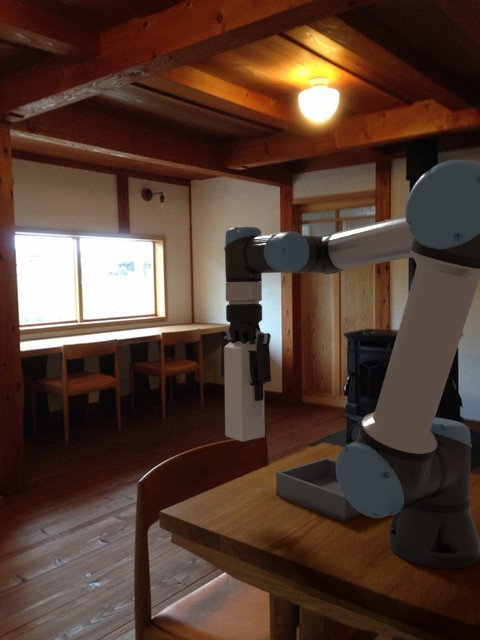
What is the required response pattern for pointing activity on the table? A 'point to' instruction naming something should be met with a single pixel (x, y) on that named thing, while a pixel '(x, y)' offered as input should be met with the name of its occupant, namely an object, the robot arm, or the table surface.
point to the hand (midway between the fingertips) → (245, 413)
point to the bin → (316, 489)
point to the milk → (240, 394)
